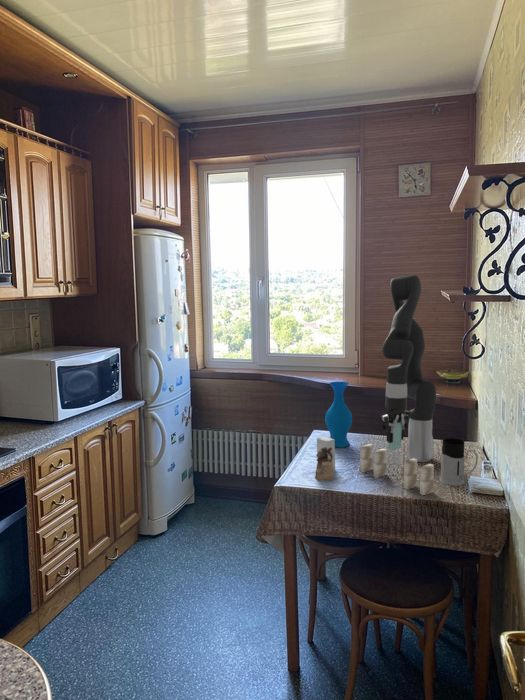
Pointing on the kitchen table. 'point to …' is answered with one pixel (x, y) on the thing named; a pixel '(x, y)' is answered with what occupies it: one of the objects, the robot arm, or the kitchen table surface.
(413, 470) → the domino
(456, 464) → the grey black pitcher
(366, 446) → the domino
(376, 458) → the domino
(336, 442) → the vase
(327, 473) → the figurine
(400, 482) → the kitchen table surface
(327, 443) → the skincare box
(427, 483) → the domino
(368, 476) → the kitchen table surface
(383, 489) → the kitchen table surface
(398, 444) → the domino
